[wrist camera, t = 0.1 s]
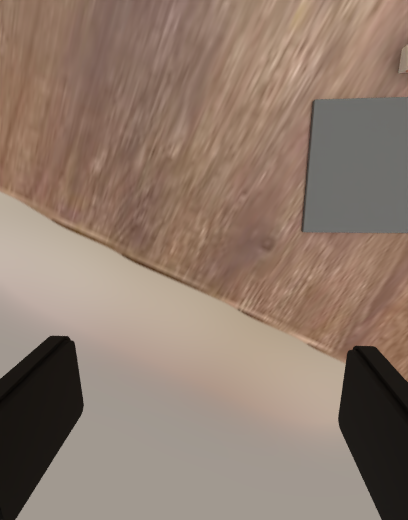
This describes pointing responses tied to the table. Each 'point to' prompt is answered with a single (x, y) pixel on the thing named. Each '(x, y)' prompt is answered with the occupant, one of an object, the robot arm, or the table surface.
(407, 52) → the block
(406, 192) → the mat
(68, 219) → the table surface
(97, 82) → the table surface
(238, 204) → the table surface
